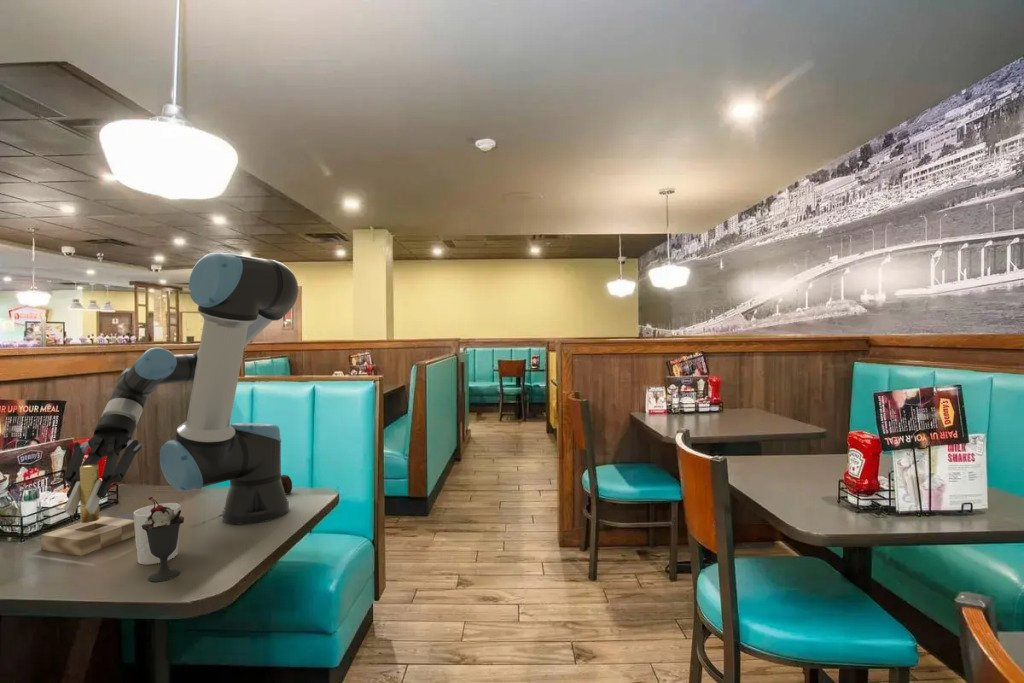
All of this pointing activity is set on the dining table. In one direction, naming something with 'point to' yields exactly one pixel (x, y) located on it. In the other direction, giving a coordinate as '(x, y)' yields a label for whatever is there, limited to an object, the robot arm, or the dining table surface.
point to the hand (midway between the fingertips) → (79, 511)
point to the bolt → (286, 483)
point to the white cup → (141, 534)
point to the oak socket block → (88, 536)
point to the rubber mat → (125, 516)
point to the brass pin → (88, 491)
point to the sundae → (163, 538)
